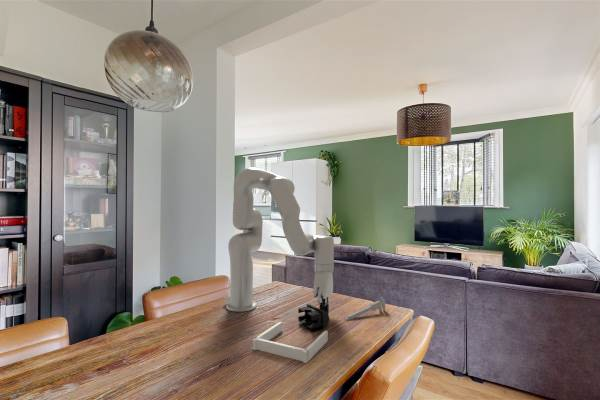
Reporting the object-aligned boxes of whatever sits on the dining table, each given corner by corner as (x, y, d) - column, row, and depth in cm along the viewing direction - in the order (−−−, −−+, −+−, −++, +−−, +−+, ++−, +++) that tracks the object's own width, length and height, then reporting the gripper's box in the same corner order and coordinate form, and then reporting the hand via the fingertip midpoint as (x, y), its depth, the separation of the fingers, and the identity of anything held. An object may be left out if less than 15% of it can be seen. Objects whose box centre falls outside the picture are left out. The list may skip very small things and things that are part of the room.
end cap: (329, 329, 108) (329, 310, 108) (313, 333, 104) (313, 313, 105) (313, 320, 117) (313, 302, 117) (297, 324, 113) (297, 305, 113)
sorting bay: (252, 349, 93) (252, 339, 93) (279, 330, 107) (279, 321, 107) (306, 363, 85) (306, 352, 85) (327, 340, 99) (327, 331, 99)
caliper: (383, 311, 127) (383, 296, 128) (385, 312, 126) (385, 296, 127) (344, 320, 117) (344, 303, 117) (346, 321, 116) (346, 304, 116)
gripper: (322, 263, 128) (322, 307, 128) (307, 270, 115) (307, 319, 115) (339, 265, 125) (339, 310, 125) (326, 272, 112) (326, 322, 111)
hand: (324, 314), depth 120 cm, fingers closed
